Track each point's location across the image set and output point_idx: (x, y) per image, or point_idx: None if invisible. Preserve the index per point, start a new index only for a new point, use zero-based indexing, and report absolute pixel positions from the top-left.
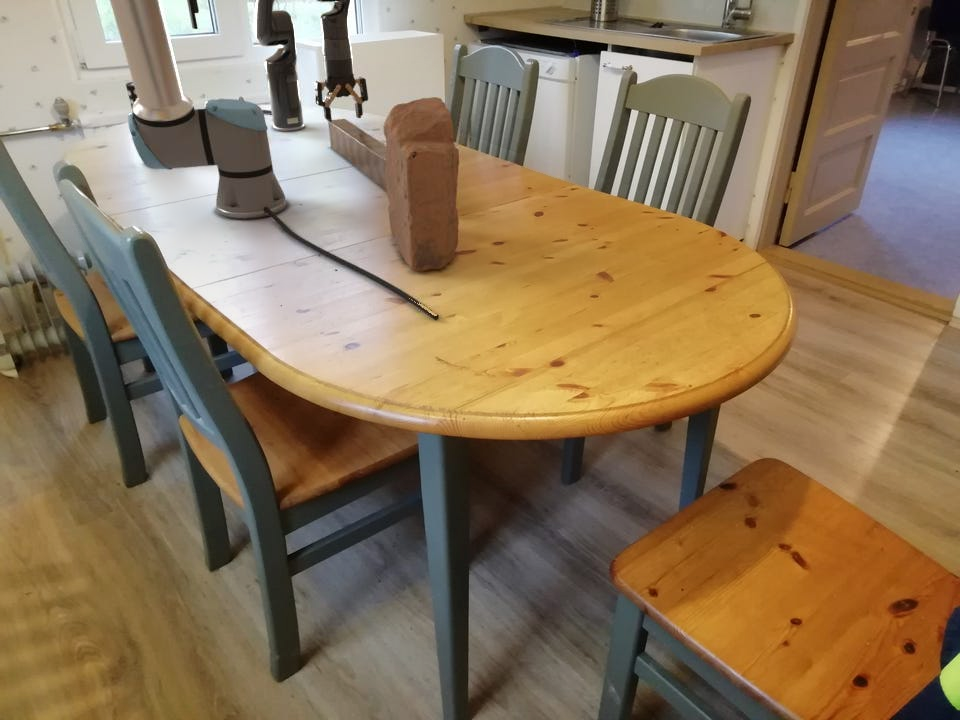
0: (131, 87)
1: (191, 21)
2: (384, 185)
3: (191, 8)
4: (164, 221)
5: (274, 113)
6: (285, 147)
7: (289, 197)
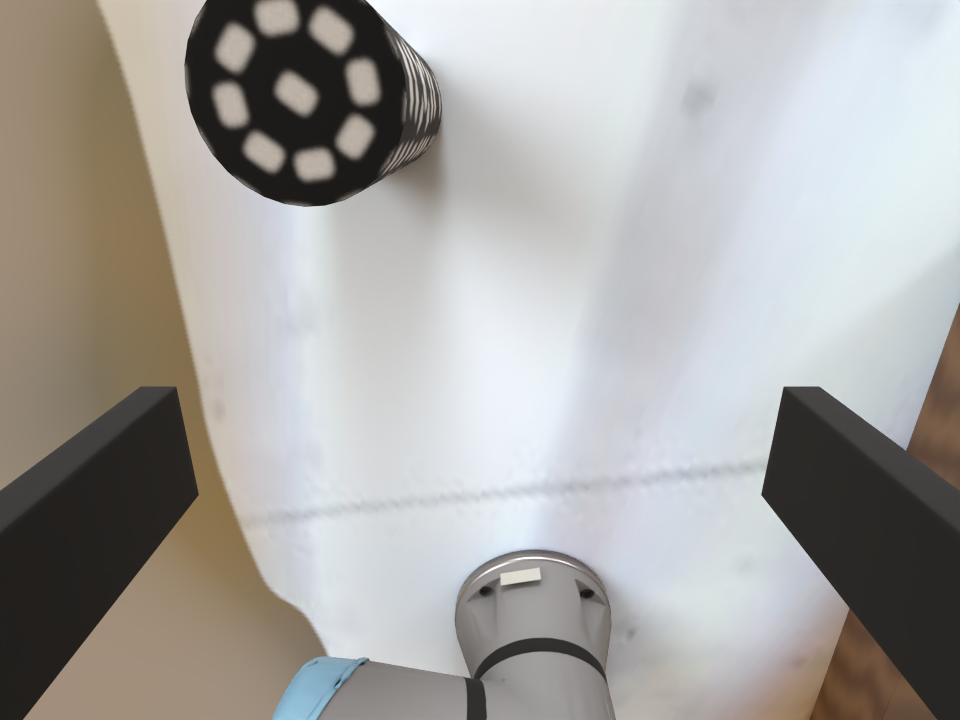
0: (224, 163)
1: (818, 439)
2: (847, 639)
3: (905, 658)
4: (342, 601)
5: None
6: (856, 128)
7: (629, 587)
